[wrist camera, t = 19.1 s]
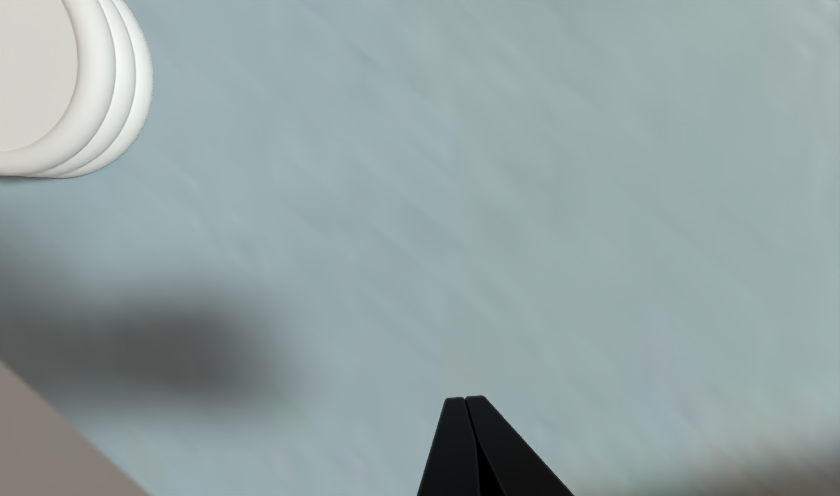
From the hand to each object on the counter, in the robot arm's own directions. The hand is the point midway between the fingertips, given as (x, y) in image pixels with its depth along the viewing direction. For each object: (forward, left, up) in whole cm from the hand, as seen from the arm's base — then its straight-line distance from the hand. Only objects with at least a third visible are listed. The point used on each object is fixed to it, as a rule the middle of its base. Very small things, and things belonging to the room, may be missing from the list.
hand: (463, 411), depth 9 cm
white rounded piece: (+21, +6, -12) cm, 25 cm away
